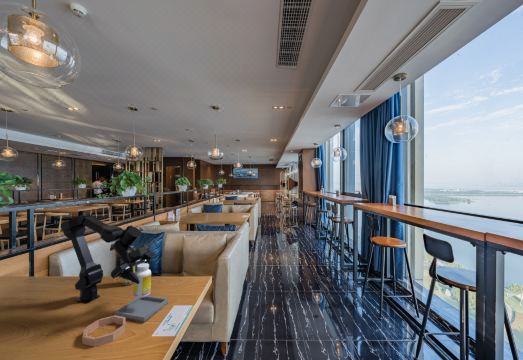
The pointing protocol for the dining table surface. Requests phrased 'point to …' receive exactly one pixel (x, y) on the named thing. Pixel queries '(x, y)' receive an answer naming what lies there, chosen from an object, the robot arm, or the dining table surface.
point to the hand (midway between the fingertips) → (145, 279)
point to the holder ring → (106, 338)
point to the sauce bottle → (125, 281)
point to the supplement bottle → (142, 281)
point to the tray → (141, 308)
